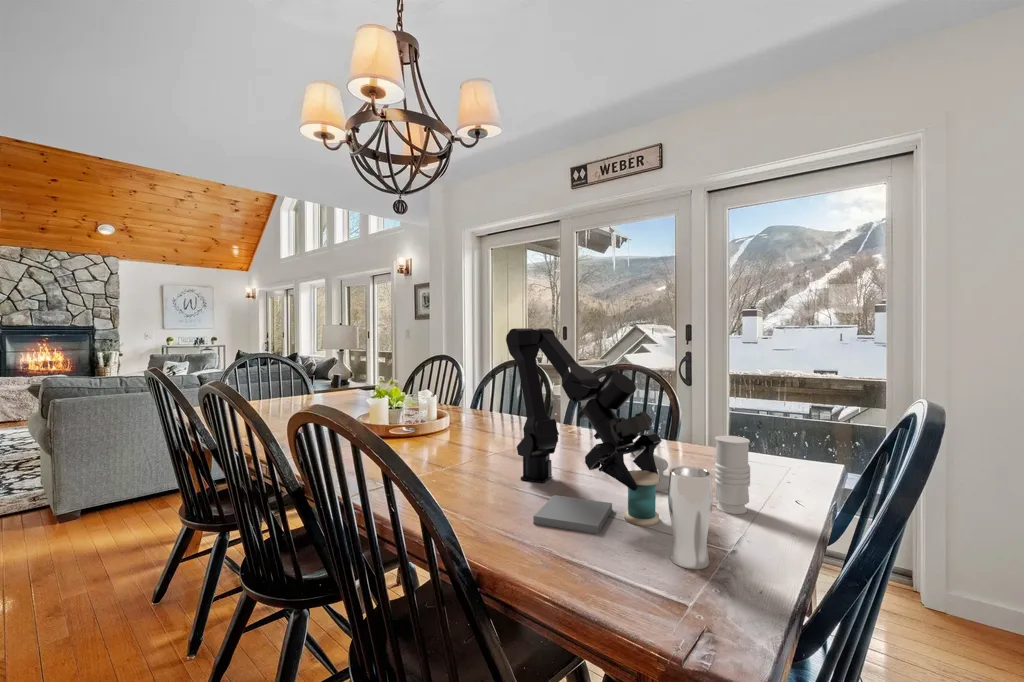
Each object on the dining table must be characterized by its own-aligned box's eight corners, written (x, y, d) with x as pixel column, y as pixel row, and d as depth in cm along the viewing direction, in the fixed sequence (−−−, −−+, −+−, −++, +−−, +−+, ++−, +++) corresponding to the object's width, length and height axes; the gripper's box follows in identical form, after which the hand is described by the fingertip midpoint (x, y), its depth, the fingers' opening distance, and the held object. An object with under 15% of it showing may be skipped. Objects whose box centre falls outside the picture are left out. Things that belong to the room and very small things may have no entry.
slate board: (533, 523, 97) (533, 515, 97) (553, 501, 109) (553, 495, 109) (598, 534, 92) (598, 526, 92) (612, 510, 104) (612, 503, 104)
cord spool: (621, 522, 97) (621, 477, 97) (627, 510, 104) (627, 468, 103) (656, 528, 95) (657, 482, 95) (660, 515, 101) (660, 472, 101)
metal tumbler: (661, 552, 85) (661, 466, 84) (699, 550, 85) (700, 465, 85) (678, 572, 78) (678, 478, 77) (720, 570, 78) (721, 477, 78)
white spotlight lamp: (629, 441, 126) (670, 443, 124) (629, 478, 126) (670, 480, 124) (631, 449, 117) (674, 451, 115) (630, 489, 118) (674, 491, 116)
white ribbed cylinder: (754, 515, 101) (754, 443, 100) (718, 513, 102) (718, 442, 101) (744, 503, 107) (745, 436, 107) (711, 502, 109) (711, 434, 108)
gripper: (595, 404, 96) (640, 473, 88) (654, 395, 107) (699, 456, 99) (567, 436, 103) (607, 504, 94) (626, 425, 114) (666, 484, 105)
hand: (647, 486), depth 98 cm, fingers closed on cord spool, 7 cm apart
